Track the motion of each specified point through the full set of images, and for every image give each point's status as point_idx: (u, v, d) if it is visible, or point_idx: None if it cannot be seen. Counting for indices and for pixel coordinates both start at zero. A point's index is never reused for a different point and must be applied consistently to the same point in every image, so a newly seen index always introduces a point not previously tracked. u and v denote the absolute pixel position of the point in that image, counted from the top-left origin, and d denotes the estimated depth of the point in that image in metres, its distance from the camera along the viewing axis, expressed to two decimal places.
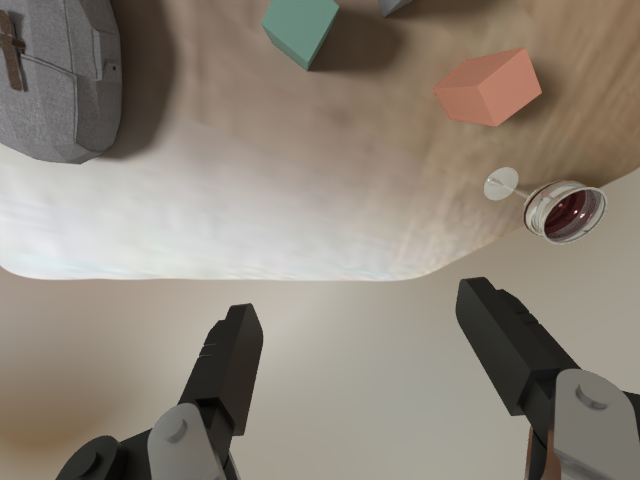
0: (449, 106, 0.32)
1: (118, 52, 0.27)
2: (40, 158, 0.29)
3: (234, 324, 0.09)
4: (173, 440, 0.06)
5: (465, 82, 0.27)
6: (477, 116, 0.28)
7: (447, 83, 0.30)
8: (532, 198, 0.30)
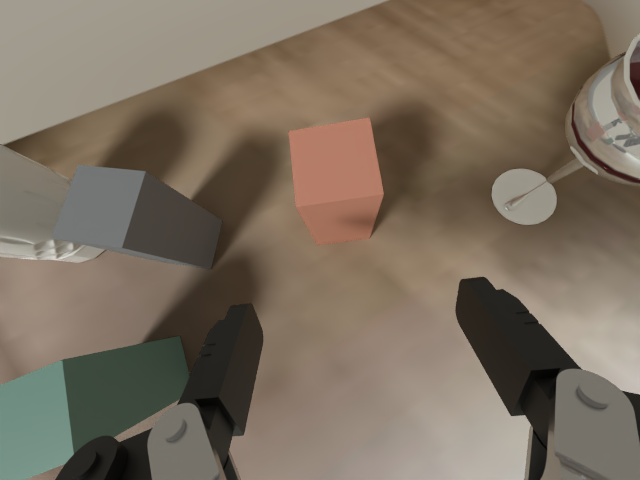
0: (346, 236, 0.21)
1: None
2: None
3: (234, 324, 0.09)
4: (173, 440, 0.06)
5: None
6: (361, 212, 0.16)
7: None
8: (591, 159, 0.13)
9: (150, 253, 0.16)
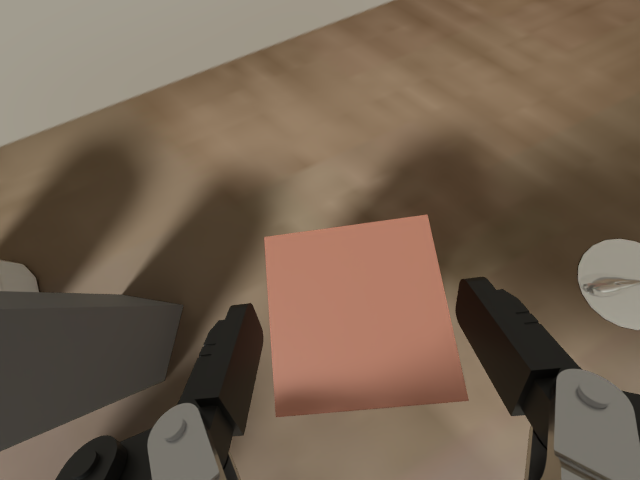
0: None
1: None
2: None
3: (234, 324, 0.09)
4: (173, 440, 0.06)
5: None
6: None
7: None
8: None
9: (16, 442, 0.09)
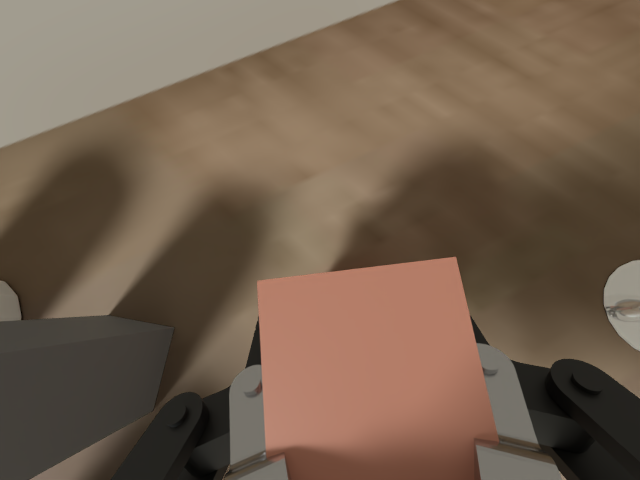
0: None
1: None
2: None
3: None
4: (254, 395, 0.07)
5: None
6: None
7: None
8: None
9: None
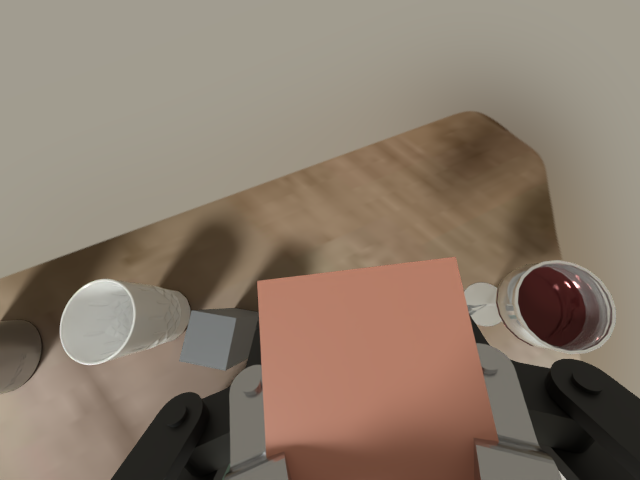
0: None
1: None
2: None
3: None
4: (254, 395, 0.07)
5: None
6: None
7: None
8: None
9: (235, 364, 0.25)
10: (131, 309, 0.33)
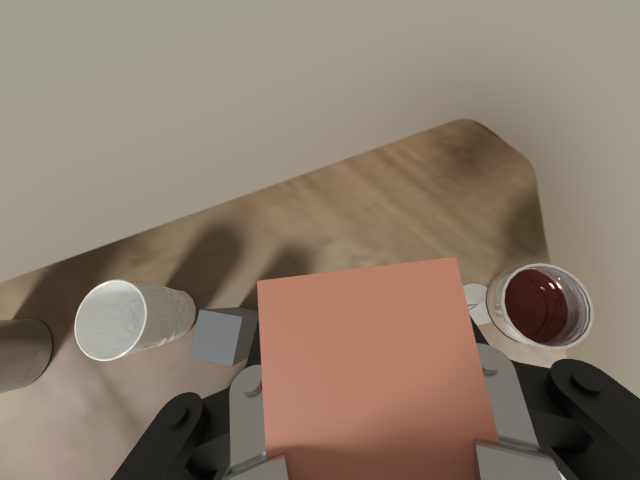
0: None
1: None
2: None
3: None
4: (254, 395, 0.07)
5: None
6: None
7: None
8: None
9: (241, 360, 0.27)
10: (139, 308, 0.34)
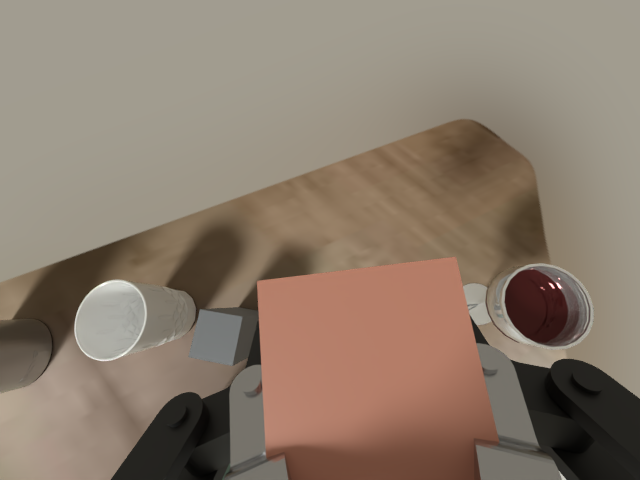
0: None
1: None
2: None
3: None
4: (254, 395, 0.07)
5: None
6: None
7: None
8: (495, 325, 0.24)
9: (241, 360, 0.27)
10: (139, 308, 0.34)
